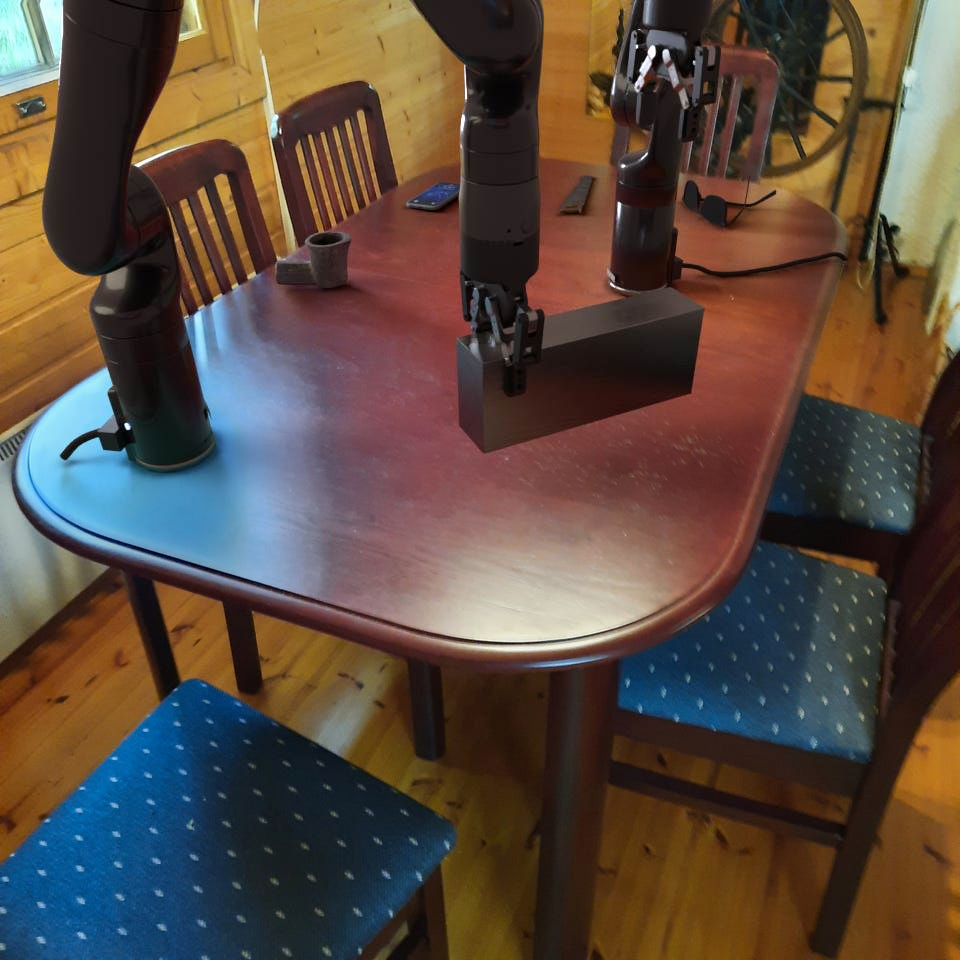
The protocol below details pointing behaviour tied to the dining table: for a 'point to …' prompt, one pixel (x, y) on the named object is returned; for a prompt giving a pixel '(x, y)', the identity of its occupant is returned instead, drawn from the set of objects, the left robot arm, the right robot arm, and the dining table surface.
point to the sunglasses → (714, 204)
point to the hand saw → (577, 197)
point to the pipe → (318, 262)
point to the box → (581, 368)
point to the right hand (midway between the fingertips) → (664, 132)
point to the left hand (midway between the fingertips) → (499, 379)
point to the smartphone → (435, 196)
